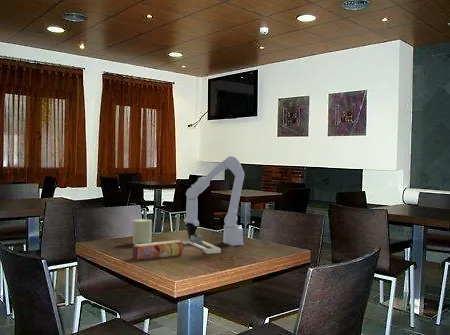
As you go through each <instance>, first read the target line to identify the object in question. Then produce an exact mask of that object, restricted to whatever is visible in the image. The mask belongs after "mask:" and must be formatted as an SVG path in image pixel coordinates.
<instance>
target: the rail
mask: <svg viewBox="0 0 450 335" xmlns="http://www.w3.org/2000/svg"><path fill="white" fill-rule="evenodd" d="M186 241H187V243H189V244H190V245H192V246H194V247H196V248H198V249H200V250H199V251H200V252H202V253H204V254H206V255H209V254H210V255H211V254H221V252H222V251H221V248H220V247H218V246H215V245H214V244H212V243H209V242H206V241H204V240H202V244H196V243H193V242H191V241H190V240H188V239H187V240H186ZM189 244H188V245H189ZM202 245H205V246H207V247H209V248H207V247H205V246H202Z"/></svg>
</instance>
